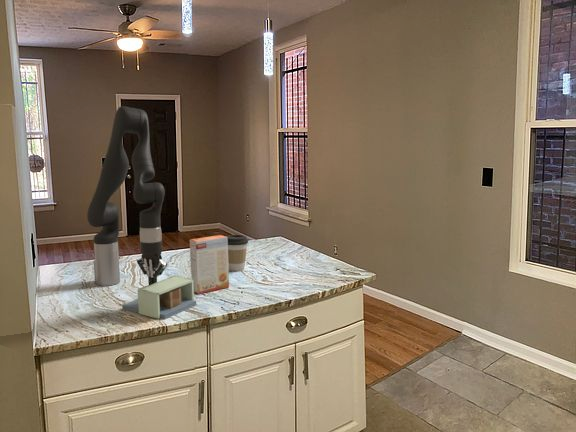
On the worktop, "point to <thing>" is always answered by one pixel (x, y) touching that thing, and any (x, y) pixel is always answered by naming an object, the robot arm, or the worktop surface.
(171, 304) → the wooden box
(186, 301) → the base
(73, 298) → the worktop surface
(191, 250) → the cracker box
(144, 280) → the worktop surface
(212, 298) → the worktop surface
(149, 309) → the cover
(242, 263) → the coffee cup
